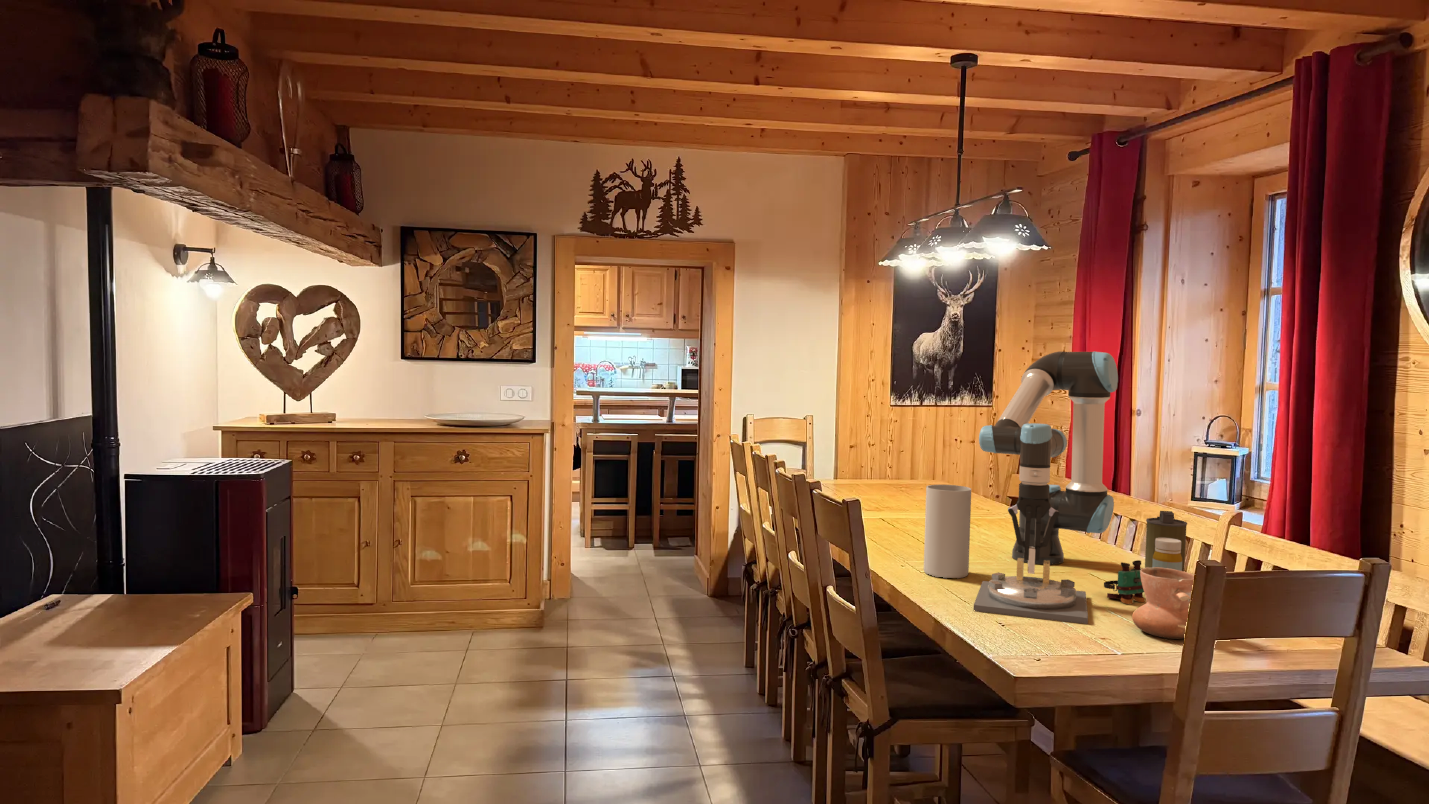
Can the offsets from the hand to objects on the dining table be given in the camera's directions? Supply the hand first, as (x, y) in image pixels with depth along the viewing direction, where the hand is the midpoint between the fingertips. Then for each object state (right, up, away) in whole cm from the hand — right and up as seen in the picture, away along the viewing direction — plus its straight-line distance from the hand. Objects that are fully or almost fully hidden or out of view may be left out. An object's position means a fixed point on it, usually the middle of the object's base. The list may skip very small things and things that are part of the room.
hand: (1030, 572), depth 236 cm
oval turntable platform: (-2, -5, -7) cm, 9 cm away
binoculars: (+24, -7, -1) cm, 25 cm away
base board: (-2, -7, -7) cm, 10 cm away
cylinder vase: (-16, -5, +23) cm, 29 cm away
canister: (+44, -6, +19) cm, 49 cm away
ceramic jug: (+21, -9, -29) cm, 37 cm away
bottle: (+37, -7, +4) cm, 38 cm away
